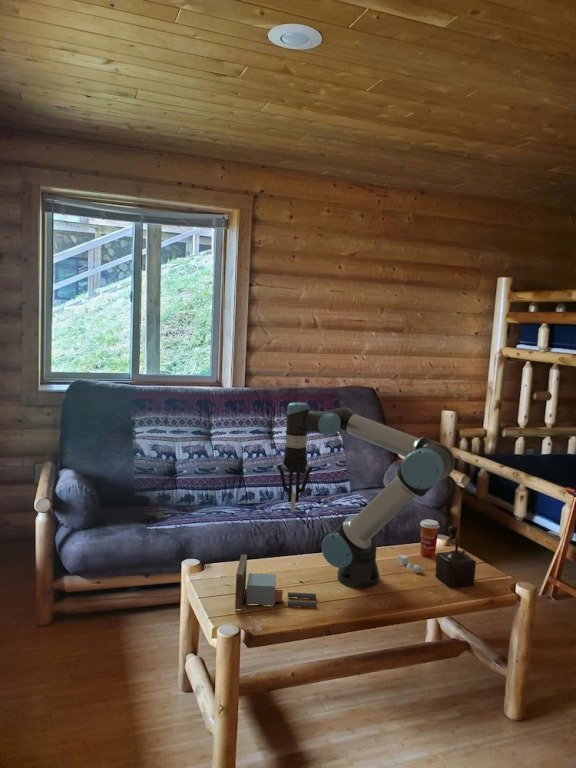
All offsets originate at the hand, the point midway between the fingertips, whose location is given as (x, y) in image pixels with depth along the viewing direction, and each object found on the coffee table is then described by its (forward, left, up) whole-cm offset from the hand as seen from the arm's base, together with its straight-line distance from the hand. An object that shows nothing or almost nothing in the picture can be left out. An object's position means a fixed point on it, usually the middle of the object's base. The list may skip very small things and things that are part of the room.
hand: (292, 510), depth 212 cm
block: (+9, +20, -24) cm, 33 cm away
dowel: (+7, +20, -25) cm, 32 cm away
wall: (+16, +20, -24) cm, 35 cm away
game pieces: (-46, -13, -25) cm, 54 cm away
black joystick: (-60, -5, -25) cm, 65 cm away
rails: (-4, +20, -24) cm, 32 cm away
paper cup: (-56, -26, -25) cm, 66 cm away
